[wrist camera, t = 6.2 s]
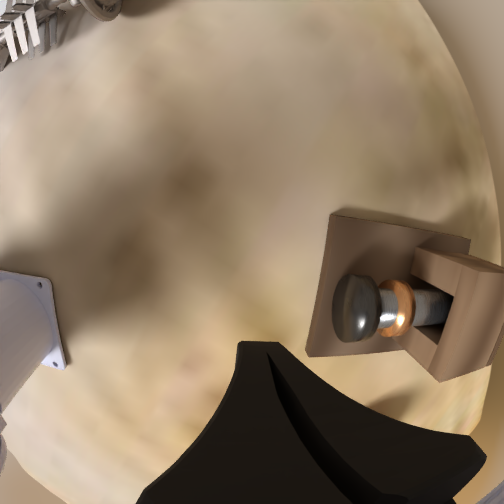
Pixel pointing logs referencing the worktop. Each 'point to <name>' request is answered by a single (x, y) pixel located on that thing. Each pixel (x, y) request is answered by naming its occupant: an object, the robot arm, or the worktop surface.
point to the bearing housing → (418, 277)
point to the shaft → (384, 308)
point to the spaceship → (42, 23)
